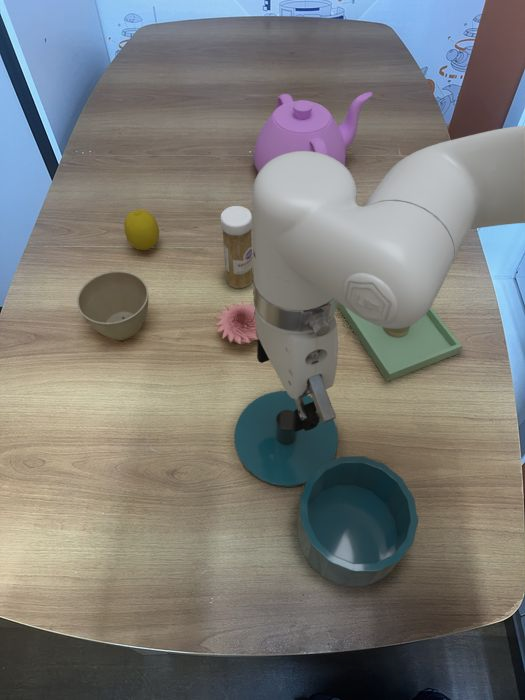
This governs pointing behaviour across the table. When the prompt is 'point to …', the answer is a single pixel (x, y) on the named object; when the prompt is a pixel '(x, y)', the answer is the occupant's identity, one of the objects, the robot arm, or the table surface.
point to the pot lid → (282, 441)
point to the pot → (355, 520)
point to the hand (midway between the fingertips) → (287, 389)
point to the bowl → (114, 303)
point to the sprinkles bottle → (237, 245)
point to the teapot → (306, 130)
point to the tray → (405, 343)
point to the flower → (238, 323)
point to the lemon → (141, 229)
